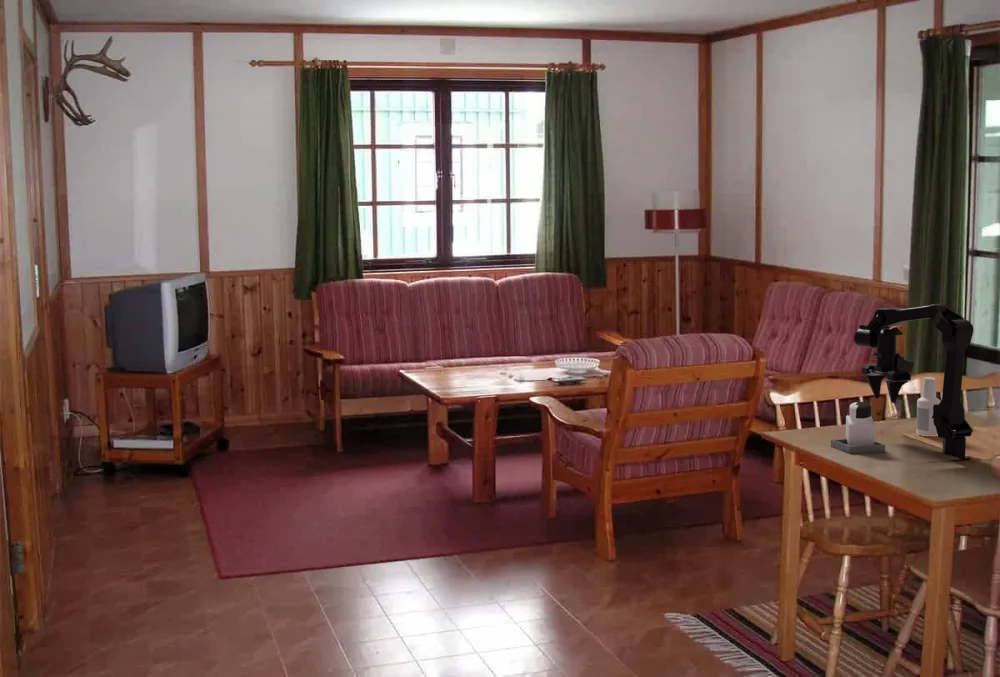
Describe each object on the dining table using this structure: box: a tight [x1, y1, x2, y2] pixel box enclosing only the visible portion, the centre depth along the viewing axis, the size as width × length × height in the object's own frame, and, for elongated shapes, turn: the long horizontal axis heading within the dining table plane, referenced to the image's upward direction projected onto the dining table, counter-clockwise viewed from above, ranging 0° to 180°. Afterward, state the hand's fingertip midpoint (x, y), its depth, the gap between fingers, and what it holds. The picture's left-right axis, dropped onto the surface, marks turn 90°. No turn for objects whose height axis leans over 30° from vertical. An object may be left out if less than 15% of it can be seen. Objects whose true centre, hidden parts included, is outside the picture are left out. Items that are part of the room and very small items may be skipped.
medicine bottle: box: [845, 401, 875, 446], centre depth 348 cm, size 7×7×12 cm
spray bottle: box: [915, 376, 941, 435], centre depth 366 cm, size 7×7×18 cm
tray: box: [830, 438, 886, 454], centre depth 348 cm, size 11×11×2 cm
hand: (885, 400), depth 361 cm, fingers open, 9 cm apart
